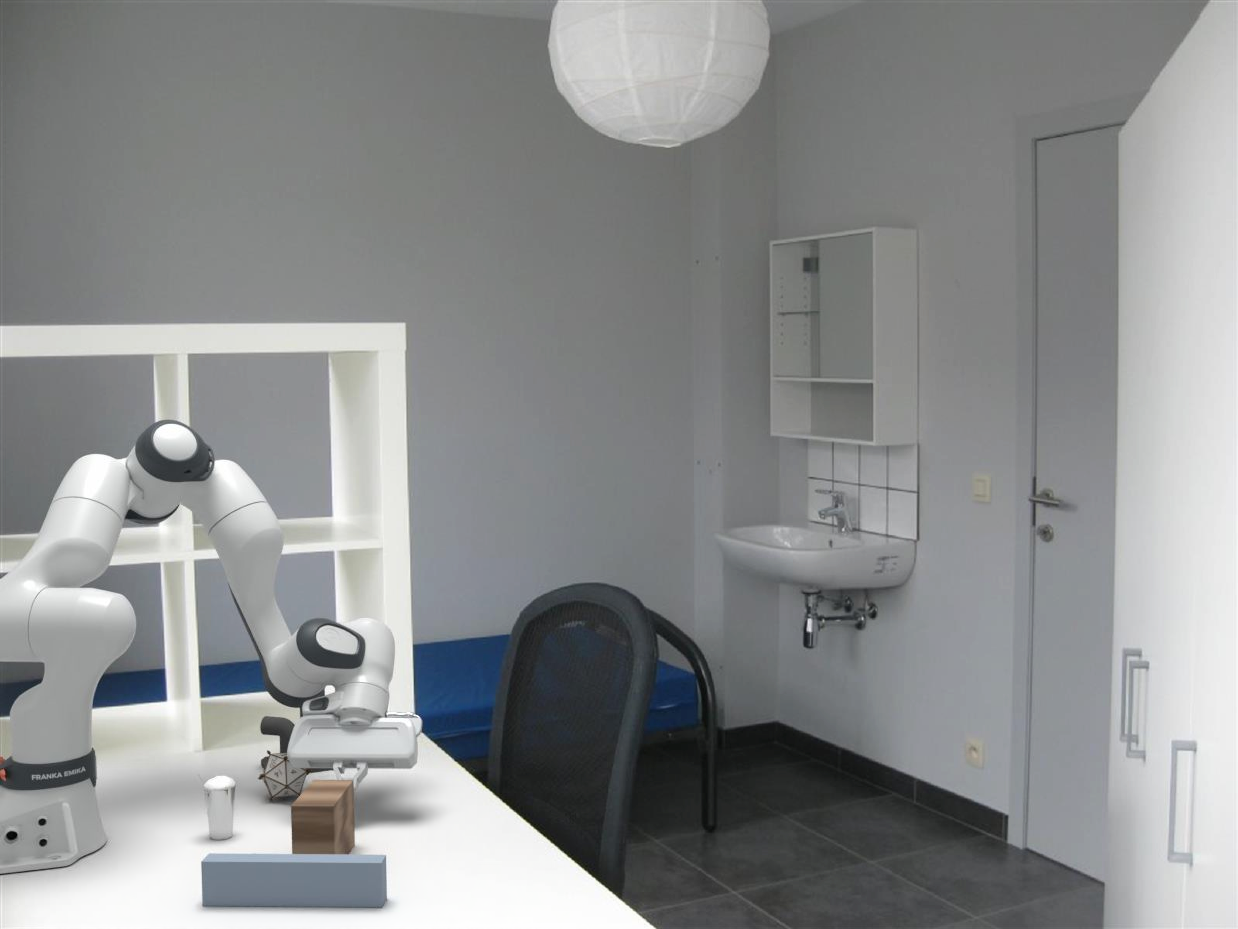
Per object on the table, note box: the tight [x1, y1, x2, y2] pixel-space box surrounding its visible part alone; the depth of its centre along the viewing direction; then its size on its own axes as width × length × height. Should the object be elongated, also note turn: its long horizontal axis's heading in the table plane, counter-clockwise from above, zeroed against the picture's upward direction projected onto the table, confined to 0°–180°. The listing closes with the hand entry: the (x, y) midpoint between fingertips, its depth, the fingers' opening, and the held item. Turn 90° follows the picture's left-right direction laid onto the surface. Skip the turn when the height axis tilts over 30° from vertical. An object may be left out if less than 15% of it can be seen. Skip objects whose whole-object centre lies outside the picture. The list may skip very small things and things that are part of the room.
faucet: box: [259, 688, 334, 774], centre depth 243 cm, size 18×16×20 cm
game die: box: [257, 749, 312, 803], centre depth 222 cm, size 9×8×10 cm
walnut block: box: [290, 779, 356, 854], centre depth 194 cm, size 12×6×10 cm, turn 178°
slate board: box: [200, 852, 388, 908], centre depth 179 cm, size 24×3×6 cm, turn 88°
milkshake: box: [198, 774, 236, 841], centre depth 204 cm, size 4×5×10 cm
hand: (346, 791), depth 207 cm, fingers closed
